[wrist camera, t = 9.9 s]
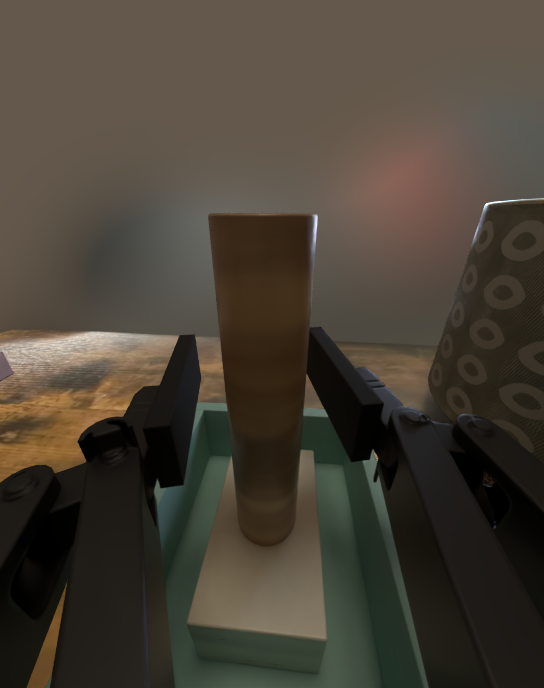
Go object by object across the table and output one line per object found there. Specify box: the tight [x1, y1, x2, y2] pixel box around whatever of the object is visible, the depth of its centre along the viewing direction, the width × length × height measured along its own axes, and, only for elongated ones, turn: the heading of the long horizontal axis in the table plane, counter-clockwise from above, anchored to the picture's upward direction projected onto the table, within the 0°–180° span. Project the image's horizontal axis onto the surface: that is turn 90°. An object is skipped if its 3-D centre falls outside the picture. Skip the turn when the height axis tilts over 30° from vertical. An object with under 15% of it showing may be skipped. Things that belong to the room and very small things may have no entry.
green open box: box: [45, 402, 429, 688], centre depth 13 cm, size 14×12×5 cm
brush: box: [187, 213, 328, 674], centre depth 10 cm, size 8×5×17 cm, turn 175°
